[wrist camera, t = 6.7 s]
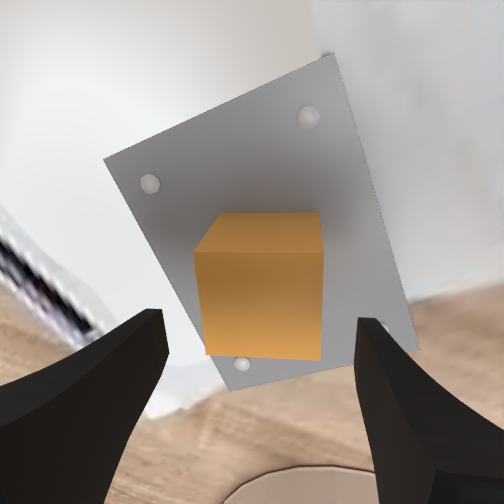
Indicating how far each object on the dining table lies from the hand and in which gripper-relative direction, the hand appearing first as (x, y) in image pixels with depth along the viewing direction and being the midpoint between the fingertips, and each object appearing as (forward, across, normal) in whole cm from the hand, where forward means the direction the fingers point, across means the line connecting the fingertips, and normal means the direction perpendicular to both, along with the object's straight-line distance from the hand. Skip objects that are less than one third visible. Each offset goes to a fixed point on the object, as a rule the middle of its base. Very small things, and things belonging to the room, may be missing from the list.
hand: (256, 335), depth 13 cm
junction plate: (+8, 0, 0) cm, 8 cm away
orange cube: (+7, 0, 0) cm, 7 cm away
